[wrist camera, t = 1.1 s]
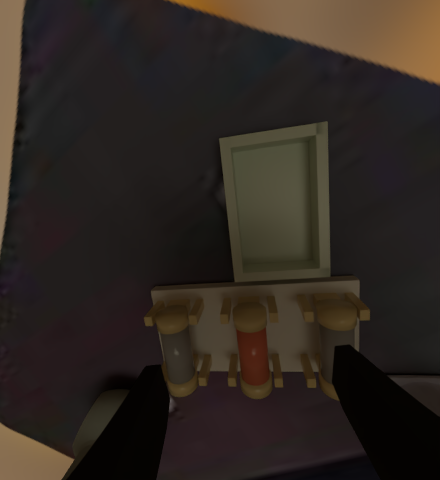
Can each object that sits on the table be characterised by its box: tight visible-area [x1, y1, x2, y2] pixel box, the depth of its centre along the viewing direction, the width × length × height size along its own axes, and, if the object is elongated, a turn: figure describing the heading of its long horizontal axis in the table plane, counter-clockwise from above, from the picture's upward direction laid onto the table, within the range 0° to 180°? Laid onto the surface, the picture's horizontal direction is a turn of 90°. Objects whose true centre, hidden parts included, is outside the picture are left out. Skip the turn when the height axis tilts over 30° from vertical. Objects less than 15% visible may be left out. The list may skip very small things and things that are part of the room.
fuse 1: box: [155, 305, 199, 397], centre depth 21 cm, size 8×3×3 cm, turn 7°
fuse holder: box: [144, 275, 370, 388], centre depth 22 cm, size 10×20×4 cm, turn 97°
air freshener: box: [62, 389, 130, 480], centre depth 24 cm, size 11×8×10 cm
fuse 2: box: [317, 299, 357, 401], centre depth 19 cm, size 8×3×3 cm, turn 7°
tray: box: [219, 122, 330, 282], centre depth 20 cm, size 12×8×3 cm, turn 7°
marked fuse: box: [232, 302, 273, 399], centre depth 20 cm, size 8×3×3 cm, turn 7°
